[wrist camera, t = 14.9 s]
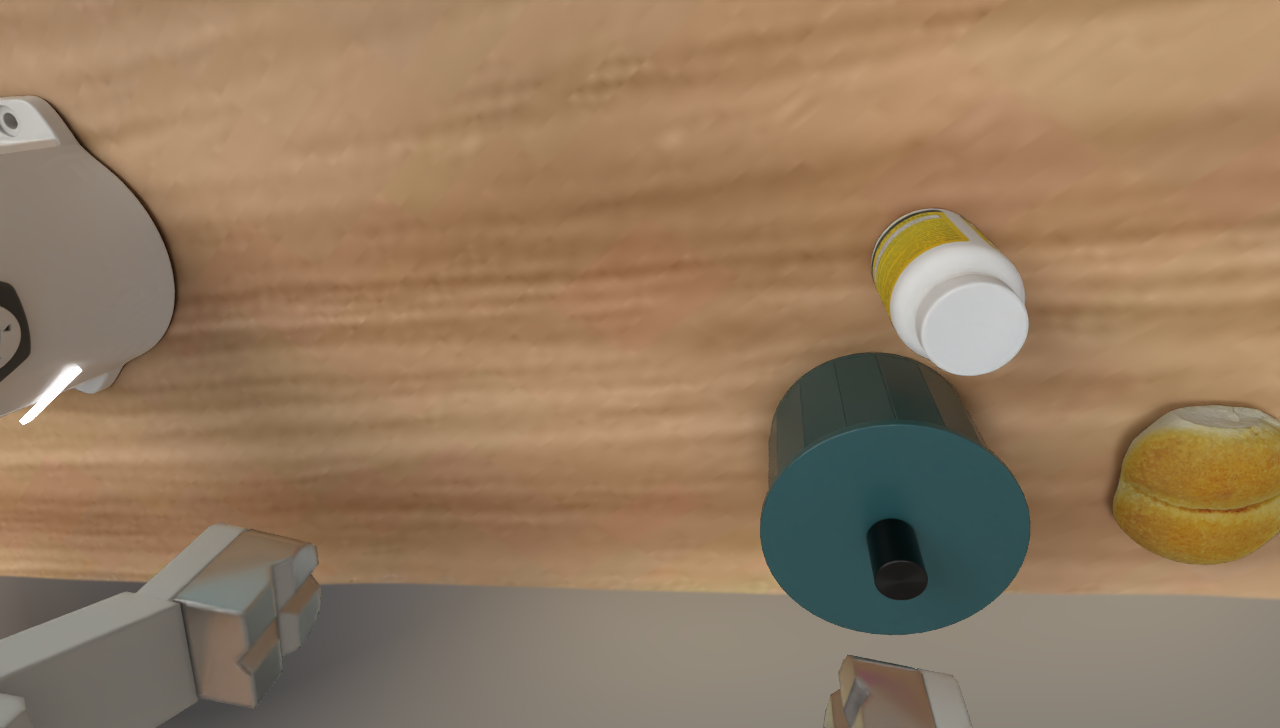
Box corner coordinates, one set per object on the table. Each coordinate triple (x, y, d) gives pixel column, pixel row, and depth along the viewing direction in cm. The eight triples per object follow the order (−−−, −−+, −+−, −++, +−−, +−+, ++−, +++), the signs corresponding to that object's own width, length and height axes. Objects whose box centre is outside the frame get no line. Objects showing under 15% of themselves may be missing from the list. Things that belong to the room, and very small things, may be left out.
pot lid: (739, 590, 38) (736, 650, 34) (790, 389, 33) (793, 434, 29) (973, 641, 37) (995, 709, 33) (1064, 441, 32) (1103, 496, 28)
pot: (753, 497, 45) (750, 593, 37) (793, 335, 40) (799, 407, 32) (934, 534, 44) (969, 641, 36) (997, 373, 39) (1053, 456, 31)
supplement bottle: (852, 290, 38) (879, 366, 29) (897, 191, 36) (941, 242, 27) (949, 323, 38) (1005, 409, 29) (1001, 226, 36) (1079, 289, 27)
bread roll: (1097, 538, 42) (1127, 586, 38) (1125, 401, 38) (1161, 439, 35) (1259, 543, 41) (1307, 593, 37) (1304, 400, 37) (1361, 440, 33)
